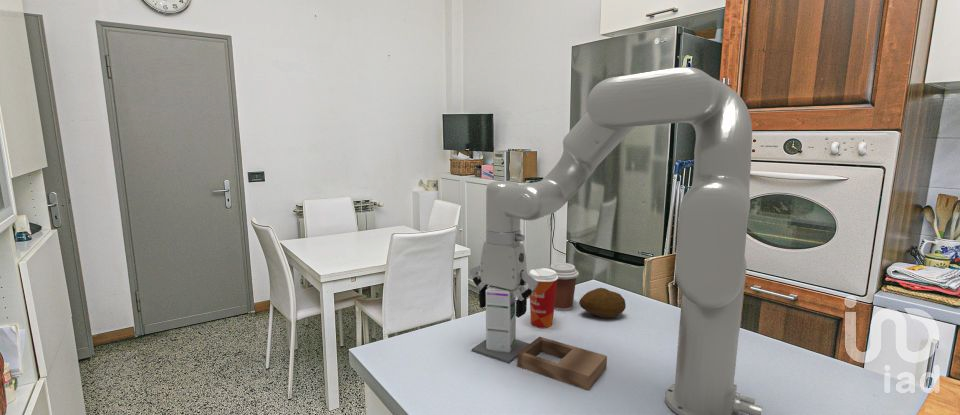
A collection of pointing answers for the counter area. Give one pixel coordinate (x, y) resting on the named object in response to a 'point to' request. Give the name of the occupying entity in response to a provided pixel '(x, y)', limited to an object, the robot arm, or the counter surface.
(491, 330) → the syrup box
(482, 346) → the rubber mat
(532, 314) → the paper cup
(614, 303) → the potato
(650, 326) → the counter surface
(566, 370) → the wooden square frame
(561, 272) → the coffee cup
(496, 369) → the counter surface
